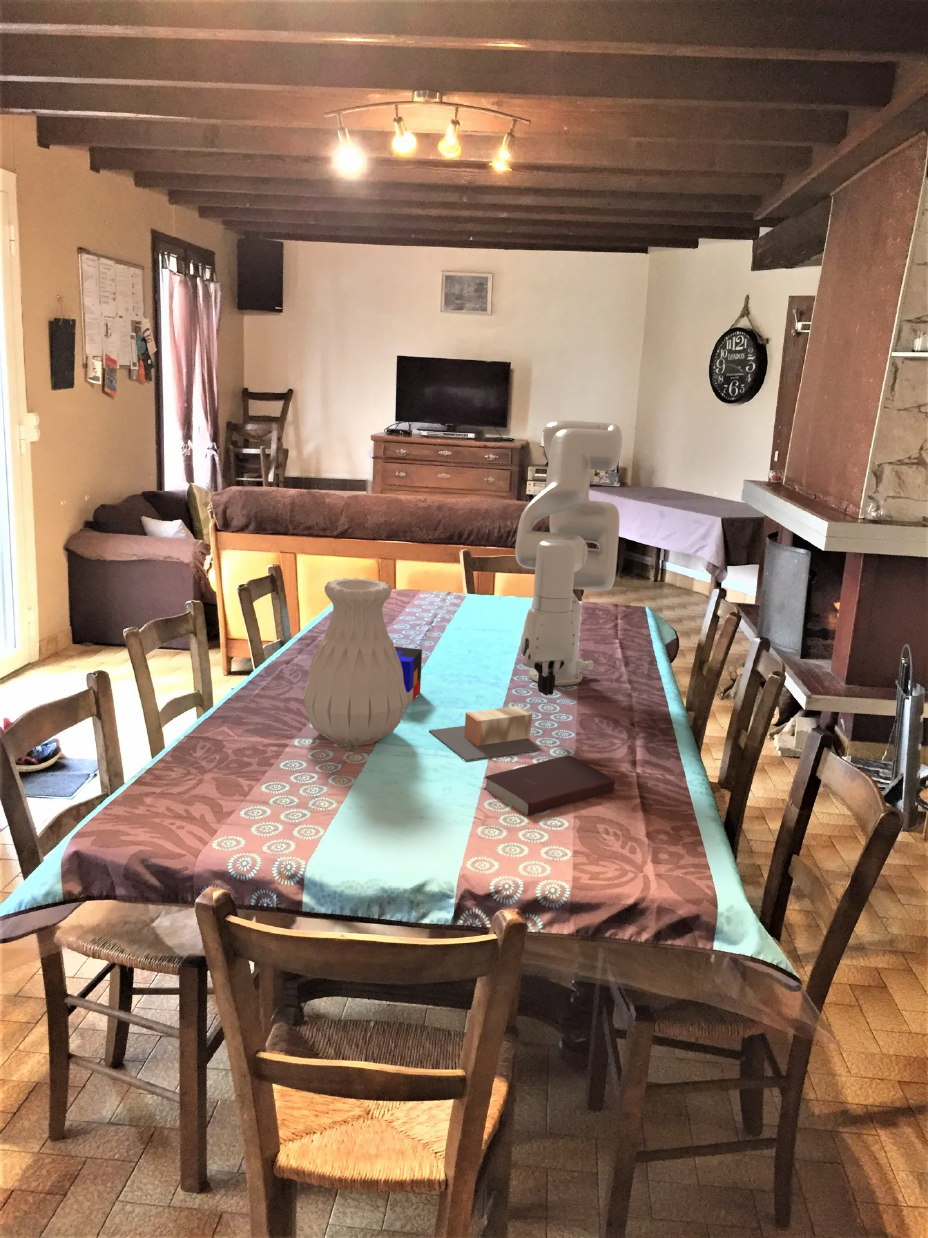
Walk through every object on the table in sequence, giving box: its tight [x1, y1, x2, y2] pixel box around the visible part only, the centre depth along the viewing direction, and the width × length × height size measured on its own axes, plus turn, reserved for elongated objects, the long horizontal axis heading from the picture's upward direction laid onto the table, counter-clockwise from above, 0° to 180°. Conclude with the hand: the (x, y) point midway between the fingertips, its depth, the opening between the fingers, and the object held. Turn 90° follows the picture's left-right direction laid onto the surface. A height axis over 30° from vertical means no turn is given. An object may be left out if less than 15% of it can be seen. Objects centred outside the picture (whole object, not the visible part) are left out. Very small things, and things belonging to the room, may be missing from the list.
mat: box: [428, 725, 541, 762], centre depth 189 cm, size 16×16×1 cm
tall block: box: [464, 705, 533, 746], centre depth 189 cm, size 5×5×12 cm
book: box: [482, 754, 616, 817], centre depth 167 cm, size 12×19×3 cm, turn 125°
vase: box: [302, 577, 408, 747], centre depth 184 cm, size 20×20×30 cm
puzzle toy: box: [395, 646, 423, 707], centre depth 210 cm, size 10×10×10 cm
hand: (545, 692), depth 193 cm, fingers closed
